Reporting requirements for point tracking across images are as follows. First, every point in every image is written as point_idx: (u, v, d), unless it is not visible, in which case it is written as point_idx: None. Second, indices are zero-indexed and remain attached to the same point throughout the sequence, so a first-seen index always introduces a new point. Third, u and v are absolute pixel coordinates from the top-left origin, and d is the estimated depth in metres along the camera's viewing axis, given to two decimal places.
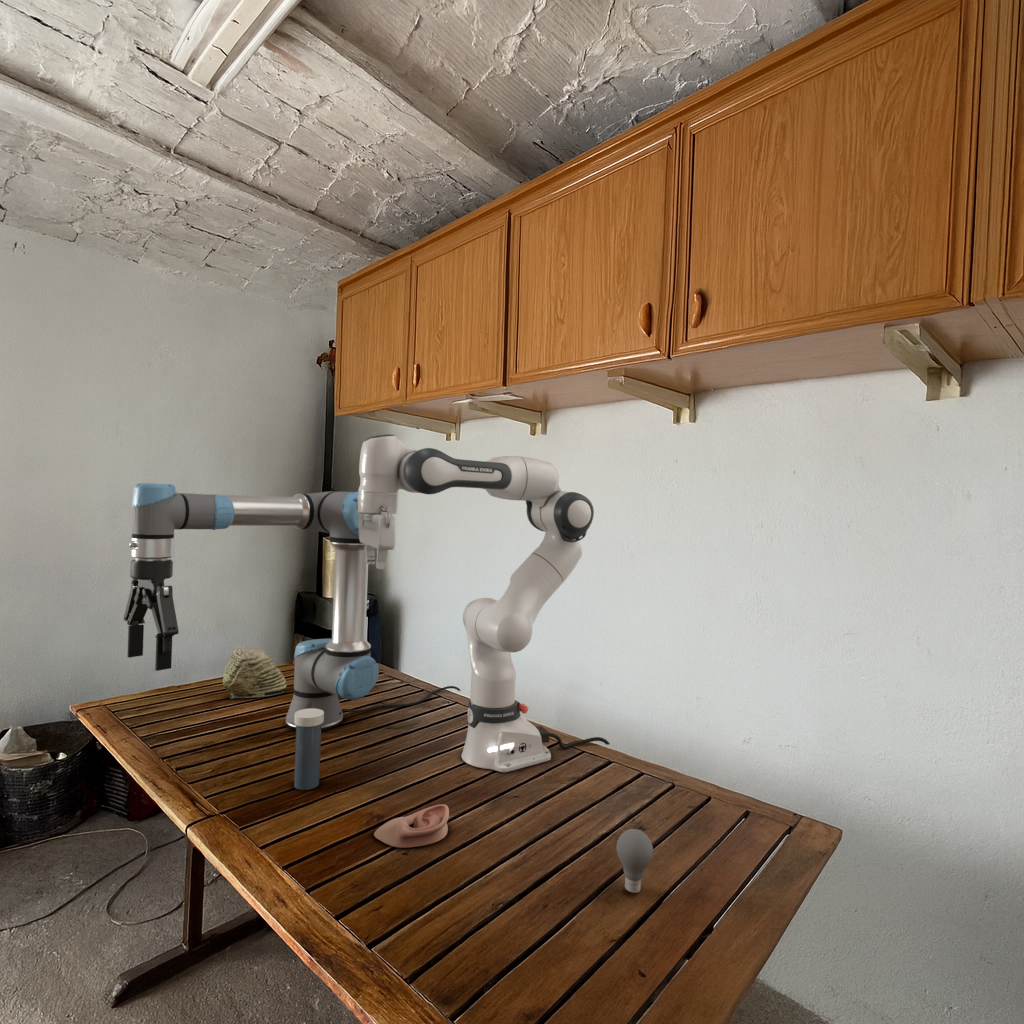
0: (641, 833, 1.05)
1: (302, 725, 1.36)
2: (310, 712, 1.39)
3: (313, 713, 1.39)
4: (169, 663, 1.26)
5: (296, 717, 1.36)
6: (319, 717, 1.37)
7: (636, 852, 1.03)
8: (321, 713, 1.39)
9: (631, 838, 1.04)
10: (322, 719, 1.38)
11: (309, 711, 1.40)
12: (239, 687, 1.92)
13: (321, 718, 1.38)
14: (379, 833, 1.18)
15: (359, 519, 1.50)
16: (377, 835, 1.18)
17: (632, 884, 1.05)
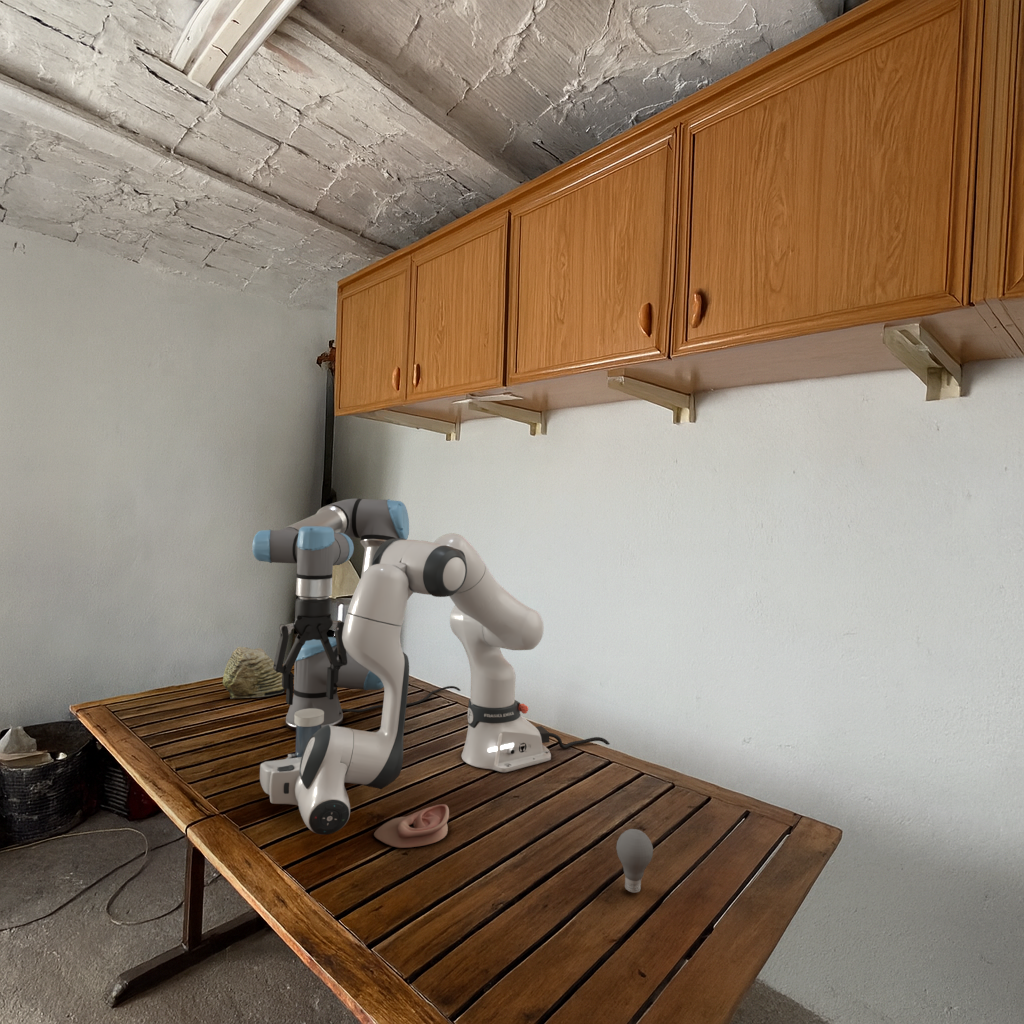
0: (641, 833, 1.05)
1: (302, 725, 1.36)
2: (310, 712, 1.39)
3: (313, 713, 1.39)
4: (288, 699, 1.35)
5: (296, 717, 1.37)
6: (319, 717, 1.37)
7: (636, 852, 1.03)
8: (321, 713, 1.39)
9: (631, 838, 1.04)
10: (322, 719, 1.38)
11: (309, 711, 1.40)
12: (239, 687, 1.92)
13: (321, 718, 1.38)
14: (379, 833, 1.18)
15: None
16: (377, 835, 1.18)
17: (632, 884, 1.05)
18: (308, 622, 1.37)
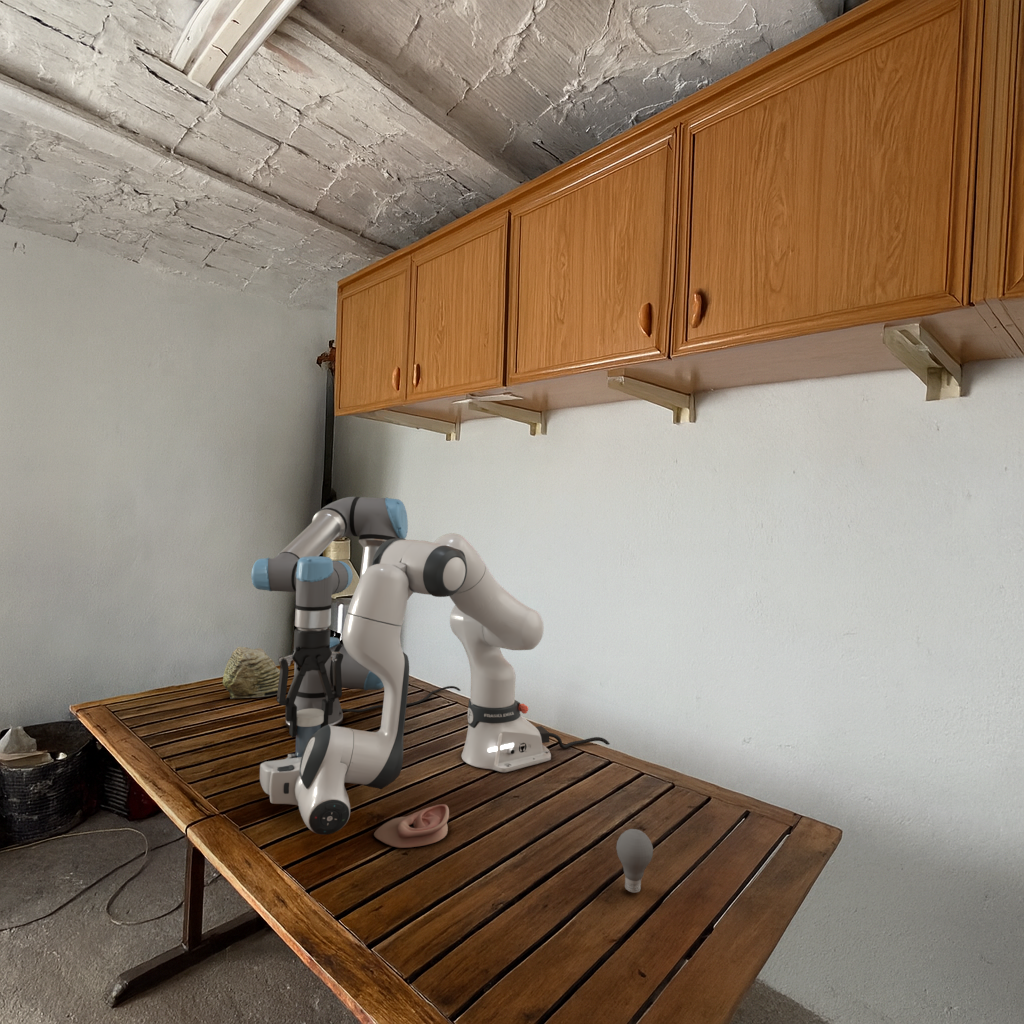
0: (641, 833, 1.05)
1: (302, 725, 1.36)
2: (310, 712, 1.39)
3: (313, 713, 1.39)
4: (292, 732, 1.36)
5: None
6: (319, 717, 1.37)
7: (636, 852, 1.03)
8: (321, 713, 1.39)
9: (631, 838, 1.04)
10: (322, 719, 1.38)
11: (309, 711, 1.40)
12: (239, 687, 1.92)
13: (321, 718, 1.38)
14: (379, 833, 1.18)
15: None
16: (377, 835, 1.18)
17: (632, 884, 1.05)
18: (307, 653, 1.37)
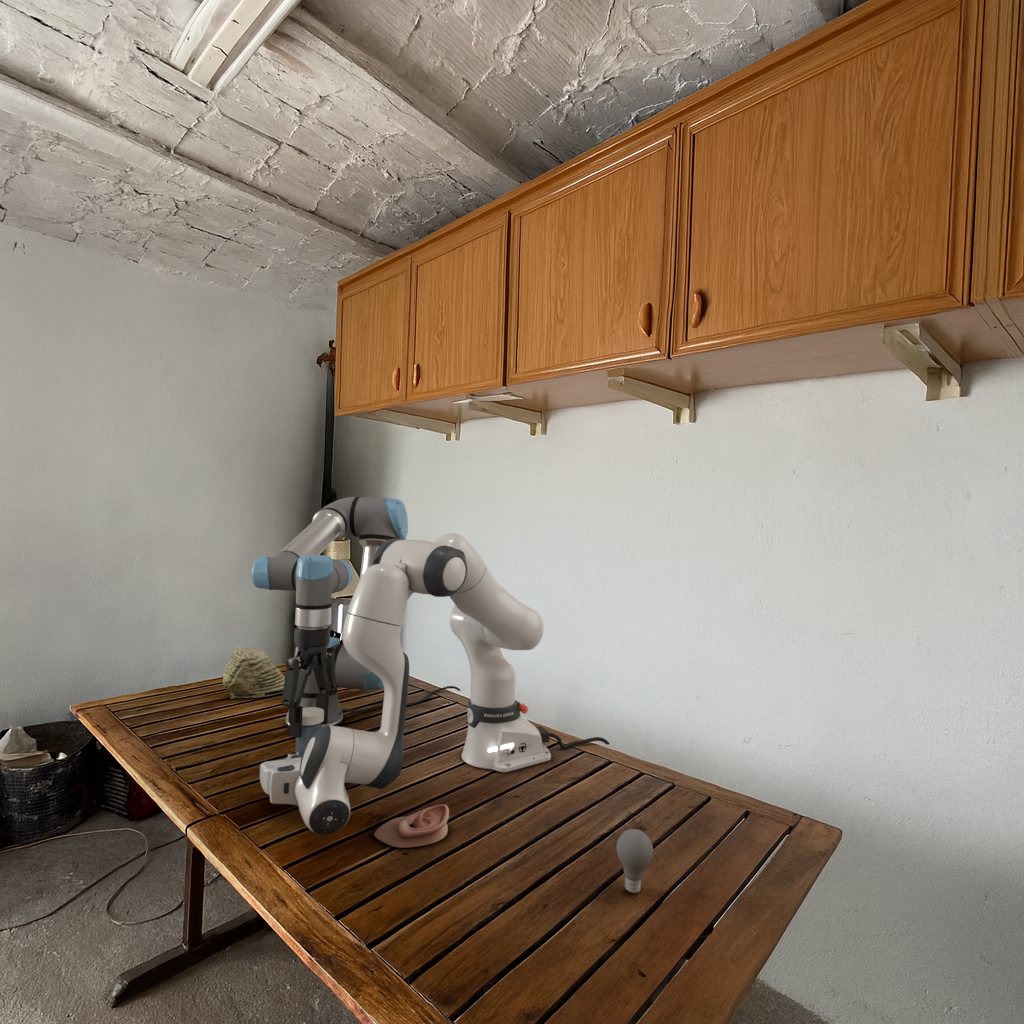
0: (641, 833, 1.05)
1: (322, 720, 1.38)
2: (307, 711, 1.39)
3: (311, 710, 1.40)
4: (298, 732, 1.34)
5: (317, 716, 1.37)
6: None
7: (636, 852, 1.03)
8: (312, 707, 1.41)
9: (631, 838, 1.04)
10: None
11: (304, 712, 1.38)
12: (239, 687, 1.92)
13: None
14: (379, 833, 1.18)
15: None
16: (377, 835, 1.18)
17: (632, 884, 1.05)
18: (312, 652, 1.37)
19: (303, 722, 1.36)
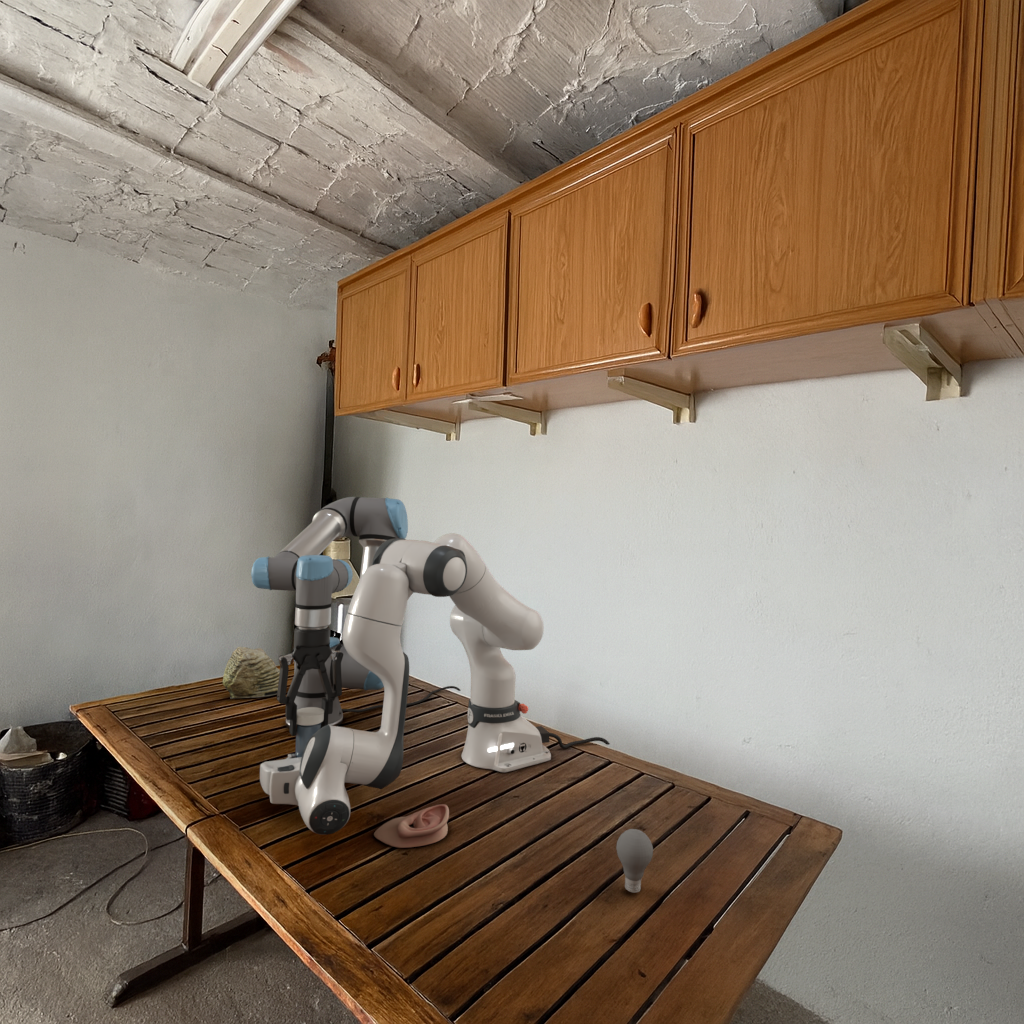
0: (641, 833, 1.05)
1: (322, 720, 1.38)
2: (307, 711, 1.39)
3: (311, 710, 1.40)
4: (292, 730, 1.36)
5: (317, 716, 1.37)
6: None
7: (636, 852, 1.03)
8: (312, 707, 1.41)
9: (631, 838, 1.04)
10: None
11: (304, 712, 1.38)
12: (239, 687, 1.92)
13: None
14: (379, 833, 1.18)
15: None
16: (377, 835, 1.18)
17: (632, 884, 1.05)
18: (307, 652, 1.37)
19: (303, 722, 1.36)
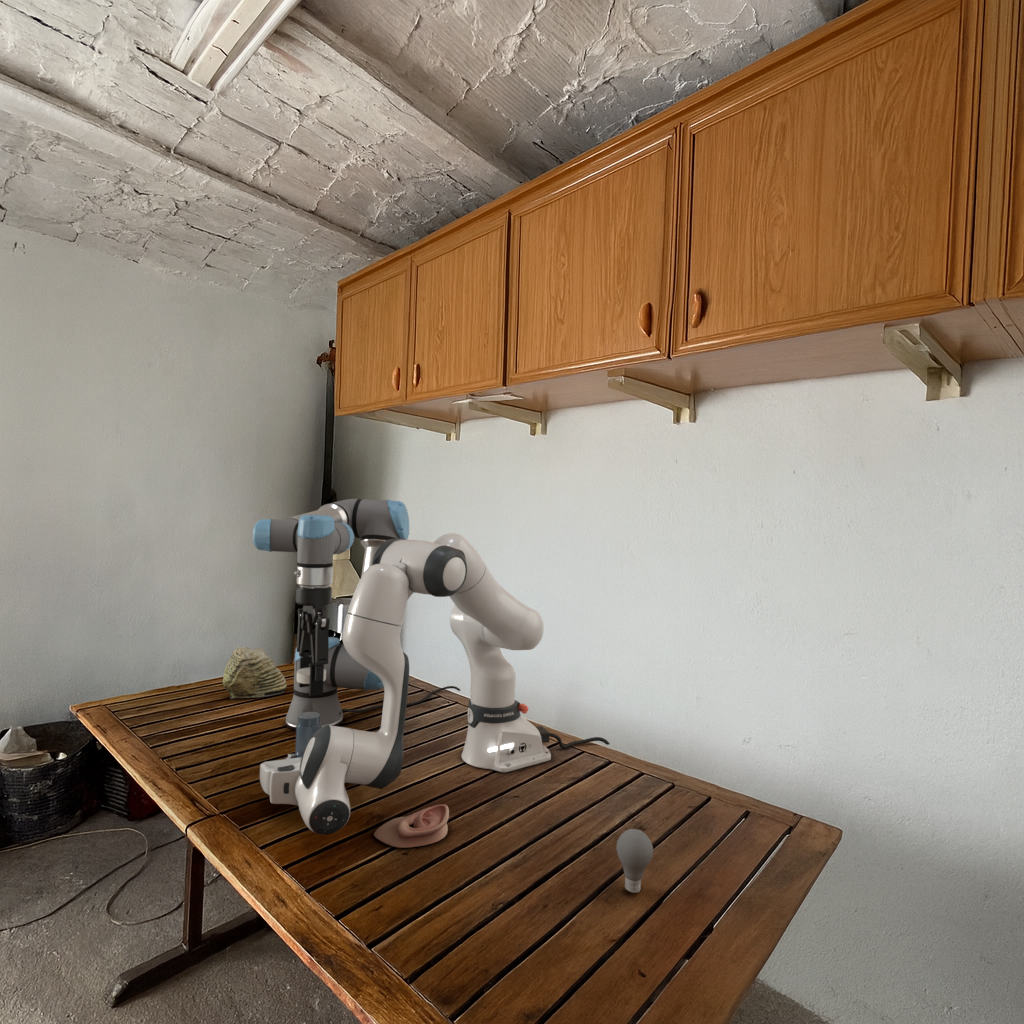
0: (641, 833, 1.05)
1: None
2: None
3: (307, 670, 1.39)
4: (321, 689, 1.36)
5: None
6: None
7: (636, 852, 1.03)
8: (299, 670, 1.38)
9: (631, 838, 1.04)
10: None
11: None
12: (239, 687, 1.92)
13: None
14: (379, 833, 1.18)
15: None
16: (377, 835, 1.18)
17: (632, 884, 1.05)
18: None
19: (325, 677, 1.39)
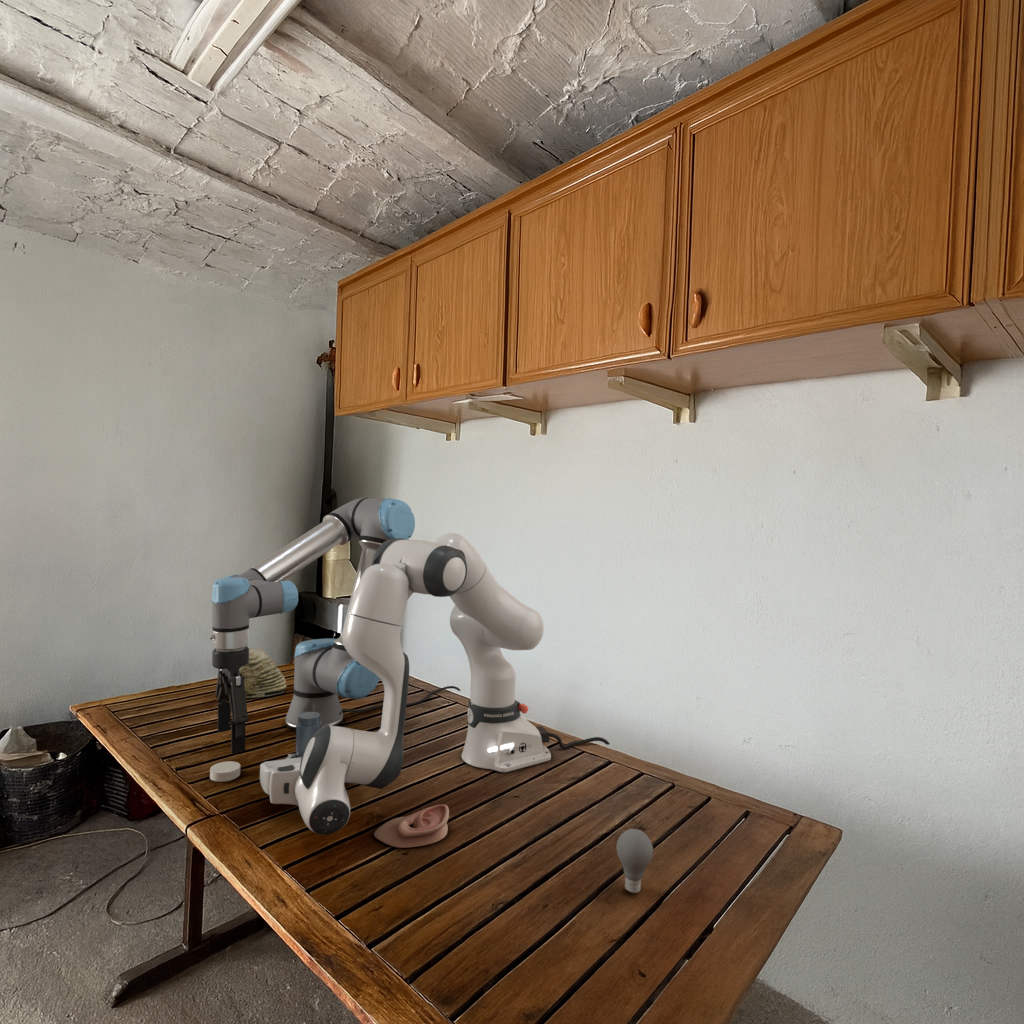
0: (641, 833, 1.05)
1: None
2: (224, 767, 1.41)
3: (221, 766, 1.42)
4: (243, 746, 1.37)
5: None
6: None
7: (636, 852, 1.03)
8: (213, 767, 1.41)
9: (631, 838, 1.04)
10: None
11: (225, 768, 1.41)
12: None
13: None
14: (379, 833, 1.18)
15: None
16: (377, 835, 1.18)
17: (632, 884, 1.05)
18: None
19: (238, 773, 1.42)
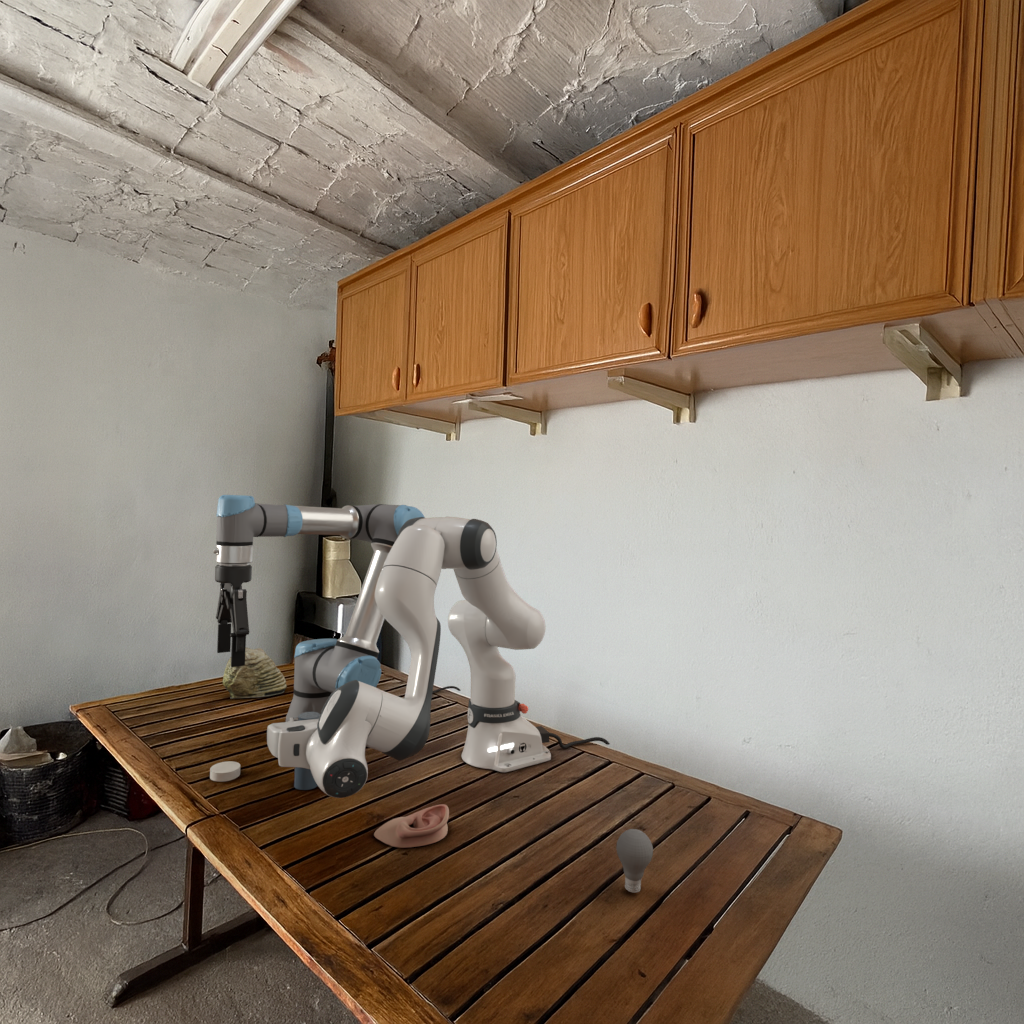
0: (641, 833, 1.05)
1: None
2: (224, 767, 1.41)
3: (221, 766, 1.42)
4: (243, 661, 1.36)
5: None
6: None
7: (636, 852, 1.03)
8: (213, 767, 1.41)
9: (631, 838, 1.04)
10: None
11: (225, 768, 1.41)
12: (239, 687, 1.92)
13: None
14: (379, 833, 1.18)
15: None
16: (377, 835, 1.18)
17: (632, 884, 1.05)
18: None
19: (238, 773, 1.42)
